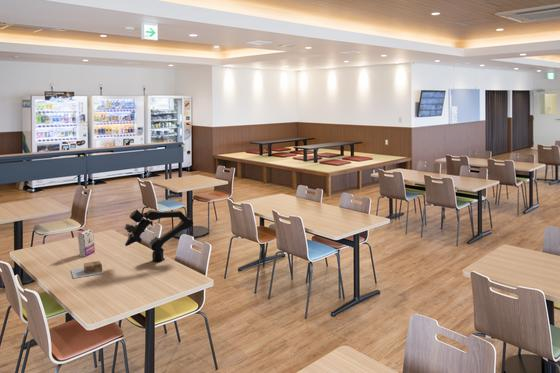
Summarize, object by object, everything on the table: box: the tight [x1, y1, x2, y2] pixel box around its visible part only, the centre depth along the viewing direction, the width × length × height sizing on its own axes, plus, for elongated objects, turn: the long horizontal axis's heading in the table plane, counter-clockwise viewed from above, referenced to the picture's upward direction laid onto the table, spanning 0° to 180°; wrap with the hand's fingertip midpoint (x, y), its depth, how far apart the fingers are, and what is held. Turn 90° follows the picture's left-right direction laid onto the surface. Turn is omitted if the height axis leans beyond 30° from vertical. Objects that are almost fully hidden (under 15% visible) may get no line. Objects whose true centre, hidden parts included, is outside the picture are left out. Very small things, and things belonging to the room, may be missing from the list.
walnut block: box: [83, 260, 103, 274], centre depth 304 cm, size 4×7×10 cm
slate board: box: [70, 267, 102, 279], centre depth 302 cm, size 16×16×1 cm
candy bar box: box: [77, 229, 96, 258], centre depth 336 cm, size 11×5×16 cm, turn 168°
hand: (125, 245), depth 311 cm, fingers closed
